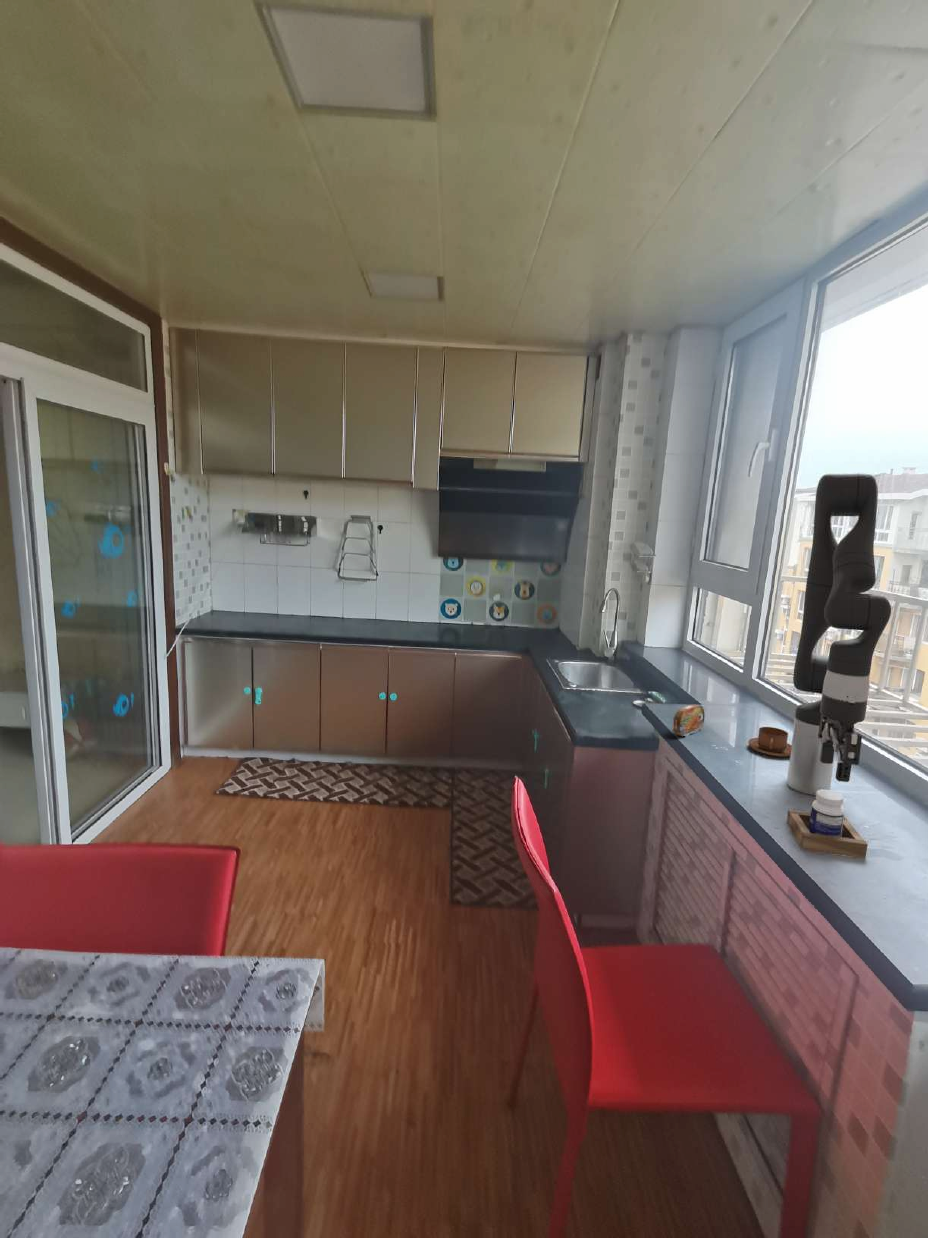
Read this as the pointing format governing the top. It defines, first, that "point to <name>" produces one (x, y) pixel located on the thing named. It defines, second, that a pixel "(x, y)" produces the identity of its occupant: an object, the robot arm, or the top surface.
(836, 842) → the socket block
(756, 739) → the cup and saucer
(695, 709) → the tin
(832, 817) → the pill bottle
